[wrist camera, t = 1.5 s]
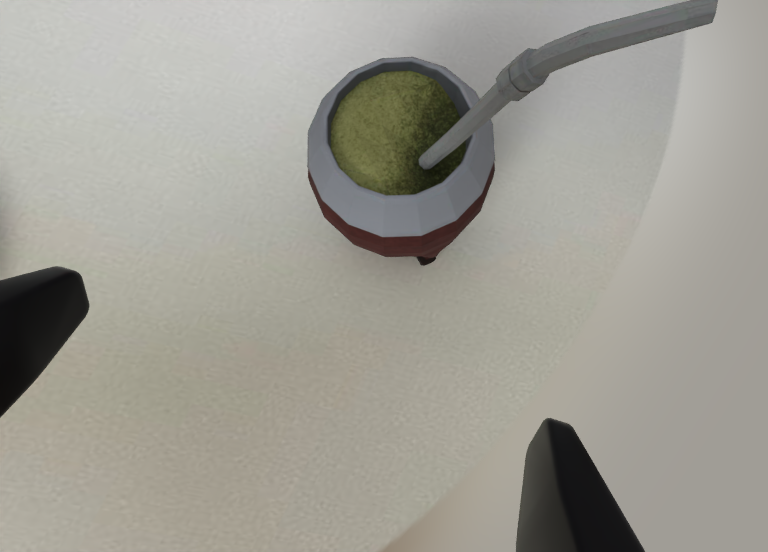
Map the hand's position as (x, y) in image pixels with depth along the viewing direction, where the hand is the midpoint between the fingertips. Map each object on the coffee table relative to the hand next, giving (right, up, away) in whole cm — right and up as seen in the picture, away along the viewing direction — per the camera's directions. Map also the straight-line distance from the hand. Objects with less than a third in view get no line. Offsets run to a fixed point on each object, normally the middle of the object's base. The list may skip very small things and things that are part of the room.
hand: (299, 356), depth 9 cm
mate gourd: (+3, +5, +14) cm, 16 cm away
